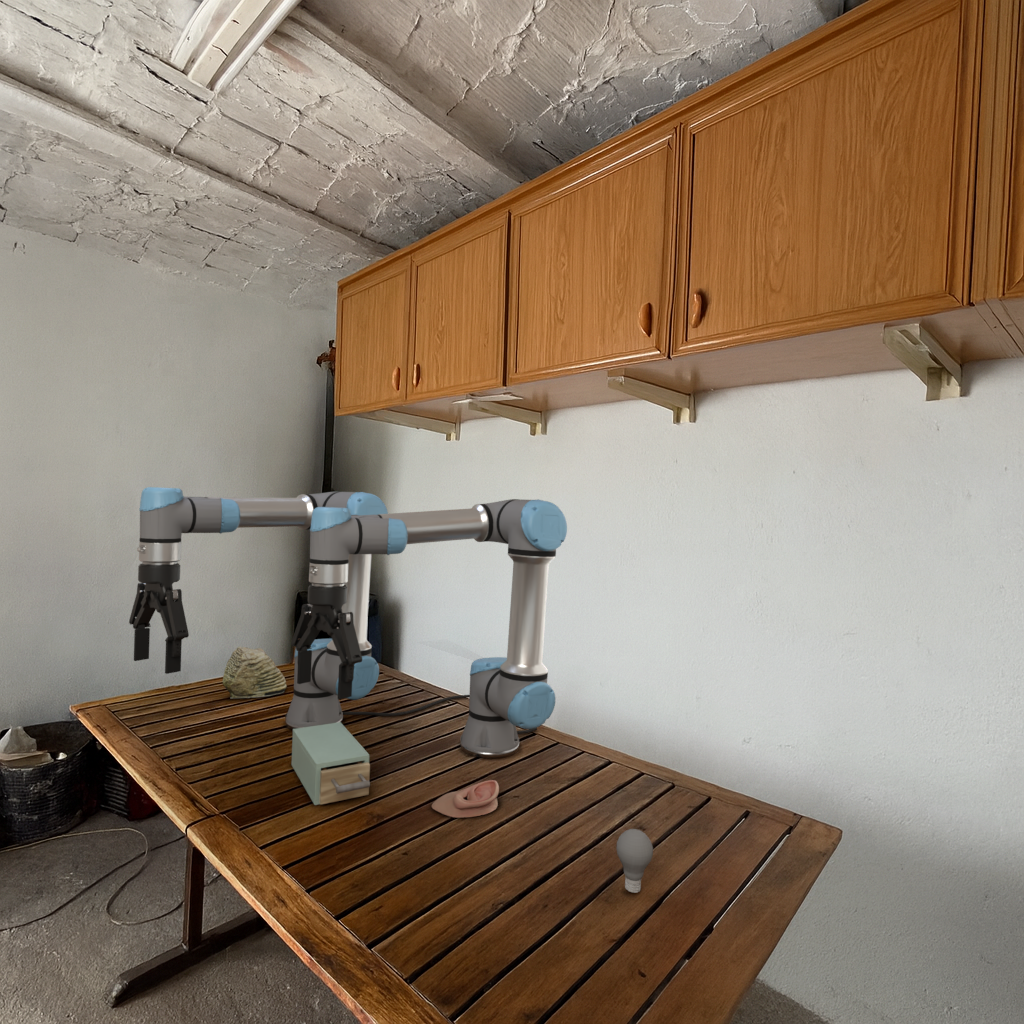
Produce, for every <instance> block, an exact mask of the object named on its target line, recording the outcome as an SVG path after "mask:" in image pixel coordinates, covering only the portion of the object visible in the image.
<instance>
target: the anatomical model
mask: <svg viewBox="0 0 1024 1024" xmlns="http://www.w3.org/2000/svg"><path fill="white" fill-rule="evenodd" d="M499 793H500V786H499V782H498V781H497V780H495V779H489V780H485V781H481V782H478V783H475V784H472V785H470V786H467V787H466V788H463V789H461V790H458V791H451V792H447V793H445V794H443V795H442V796H440V797H438V798H437V799H435V800H434V801H433V803H432V804H431V808H432V810H434V811H436V812H438V813H439V814H442V815H444V816H447V817H451V818H454V819H455V818H457V819H459V818H460V819H461V818H463V819H464V818H474V817H480V816H484V815H487V814H490V813H492V812H494V811H495V810H496V809H498V806H499V805H498V804H499V803H498V802H499V801H498V796H499Z"/></svg>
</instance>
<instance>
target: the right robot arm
mask: <svg viewBox="0 0 1024 1024" xmlns="http://www.w3.org/2000/svg"><path fill="white" fill-rule="evenodd" d="M309 532H310V533H309V535H310V537H309V539H310V540H309V569H308V582H309V583H310V584H309V586H307V603H305V604H302V605H301V609H300V610H301V612H300V616H299V619H298V621H297V625H296V627H295V631H294V634H293V636H292V639H291V640H290V641H291V642H290V645H291V646H292V647H295V650H297V651H298V660H297V664H298V674H297V684H302V683H307V682H311V662H312V650H307V649H312V648H310V647H311V645H312V643H313V641H314V640H316V638H317V637H318V636H319V634H320V633H321V631H322V632H324V633H327V635H328V637H330V639H332V640H333V642H334V645H335V647H336V650H337V652H338V654H339V657H340V659H341V662H342V663H341V664H340V665H339V678H338V699H339V700H343V699H345V698H348V697H351V696H352V681H353V678H354V676H353V675H354V665H355V663H359V662H362V655H361V651H360V647H359V643H358V639H357V635H356V631H355V627H354V621H353V613H352V612H347V613H343V612H342V606H343V605H344V604H345V603H346V602H347V587H346V585H344V584H345V583H347V582H348V562H349V560H348V558H349V554H371V555H387V556H390V555H398V554H402V553H403V552H404V551H405V549H406V547H407V545H417V544H427V543H428V544H429V543H437V542H439V543H440V542H450V541H462V540H474V541H475V542H477V543H485V542H491V543H499V544H506V545H507V555H508V557H509V558H510V559H511V560H512V563H513V564H512V580H511V593H510V608H509V620H508V621H509V623H508V638H507V653H506V657H505V656H504V657H503V656H495V657H481V658H478V659H475V660H473V661H472V662H471V666H470V672H469V695H470V696H469V697H468V698H469V699H468V718H467V720H466V722H465V726H464V729H463V731H462V733H461V735H460V738H459V739H460V749H461V750H462V751H463V752H464V753H465V754H467V755H470V756H472V757H477V758H481V759H501V758H507V757H510V756H512V755H515V754H516V753H518V751H519V749H520V737H519V735H525V734H526V735H527V734H530V733H533V732H536V731H538V728H539V727H541V726H542V725H544V724H545V723H546V721H547V720H548V719H550V717H551V716H552V714H553V713H554V711H555V710H554V709H555V706H556V693H555V691H554V689H553V687H552V686H551V685H550V684H549V683H548V676H549V670H548V668H547V667H546V665H545V664H544V663H543V657H544V644H545V643H544V641H545V628H546V627H545V626H546V612H547V611H546V610H547V600H548V599H547V596H548V581H549V567H550V564H551V562H552V561H554V560H555V559H556V556H557V549H559V548H560V547H561V546H562V544H563V543H564V542H565V540H566V537H567V534H568V524H567V519H566V517H565V514H564V513H563V511H562V510H561V509H560V507H559V506H558V505H557V504H555V503H553V502H550V501H548V500H543V499H521V498H520V499H519V498H510V499H504V500H498V501H494V502H487V503H486V502H485V503H476V504H474V505H473V506H472V507H471V508H459V509H444V510H443V509H440V510H425V511H409V512H393V513H388V514H378V515H350V510H349V509H348V508H336V507H317V508H315V509H314V510H313V512H312V519H311V528H310V530H309ZM337 627H338V629H337ZM355 656H356V657H355ZM346 657H347V658H346ZM517 727H519V728H521V729H522V730H517ZM523 729H524V730H523Z"/></svg>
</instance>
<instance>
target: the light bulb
mask: <svg viewBox="0 0 1024 1024" xmlns="http://www.w3.org/2000/svg"><path fill="white" fill-rule="evenodd" d="M615 849H616V854H617V857H618V859H619V861H620V863H621V865H622V867H623V873H624V874H623V875H624V876H625V878H624V888H625V890H627V891H628V892H630V893H634V894H635V893H639V892H640V891H641V889H642V887H641V886H642V879H643V877H644V875H645V871H646V868H647V867H648V866H649V864H650V863H651V861H652V859H653V855H654V847H653V843H652V841H651V838H649V836H648V835H647V834H646V833H645V832H643V831H642V830H641V829H636V828H629V829H627V830H625V831H623V832H622V833H621V834H620V835H619V837H618V839H617V841H616V847H615Z"/></svg>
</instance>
